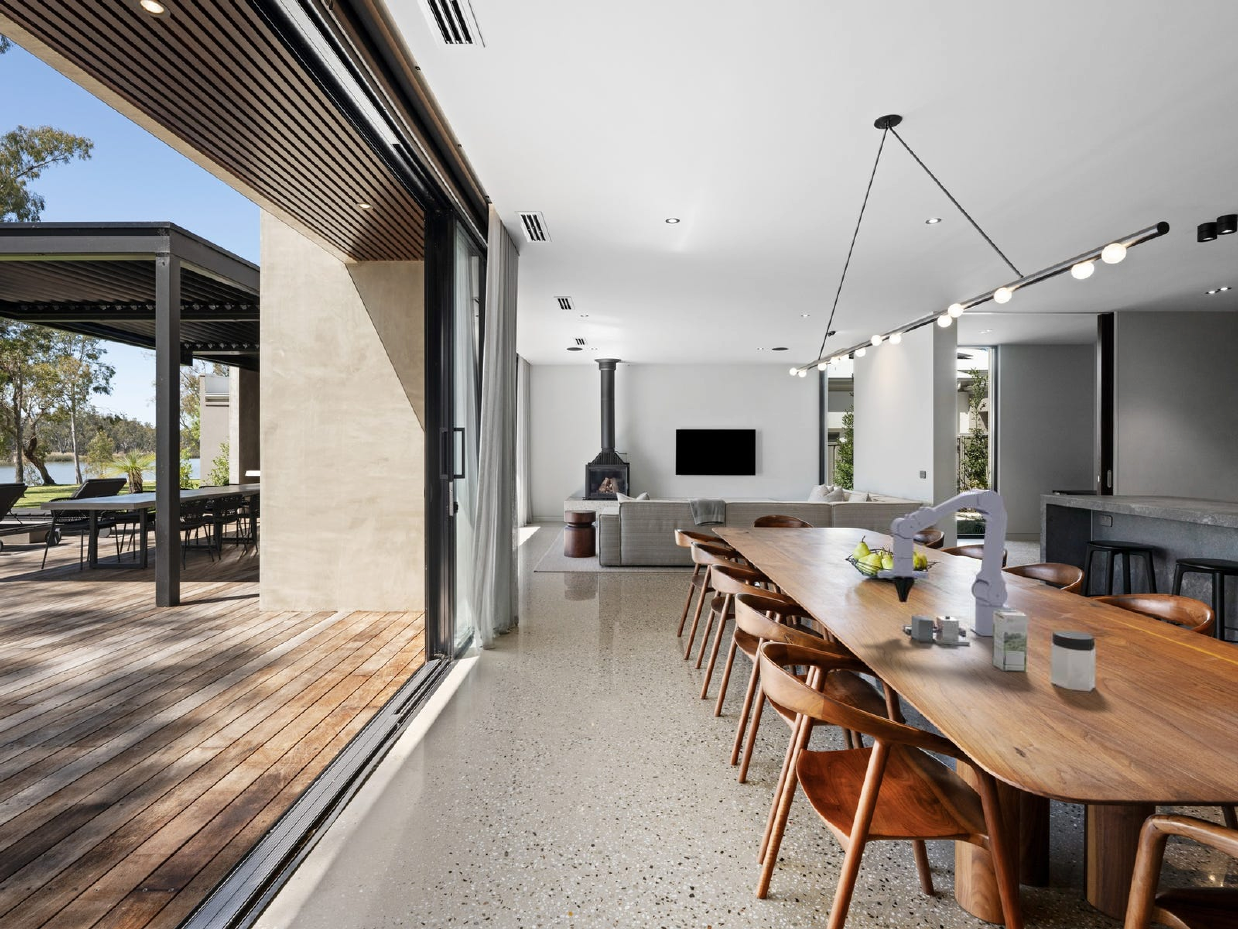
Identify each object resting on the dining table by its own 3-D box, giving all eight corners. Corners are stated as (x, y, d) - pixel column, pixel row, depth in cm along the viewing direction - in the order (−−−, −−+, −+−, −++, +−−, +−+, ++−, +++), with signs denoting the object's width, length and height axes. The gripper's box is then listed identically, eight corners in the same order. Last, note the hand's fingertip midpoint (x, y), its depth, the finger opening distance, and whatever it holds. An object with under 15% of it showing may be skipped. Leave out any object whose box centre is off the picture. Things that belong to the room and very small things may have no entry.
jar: (1056, 689, 150) (1057, 637, 149) (1045, 677, 157) (1045, 628, 157) (1102, 693, 147) (1102, 641, 147) (1088, 681, 155) (1088, 631, 155)
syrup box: (1015, 665, 167) (1015, 609, 167) (1027, 672, 161) (1028, 614, 161) (991, 664, 167) (992, 608, 167) (1003, 671, 161) (1003, 614, 161)
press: (960, 631, 198) (960, 610, 198) (981, 646, 183) (982, 623, 183) (903, 630, 200) (903, 609, 200) (920, 644, 185) (920, 621, 185)
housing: (952, 635, 191) (952, 614, 191) (958, 639, 186) (958, 618, 186) (936, 634, 191) (936, 614, 191) (942, 639, 187) (942, 618, 187)
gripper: (923, 555, 201) (922, 599, 201) (874, 554, 202) (874, 598, 202) (931, 559, 194) (931, 604, 194) (881, 558, 195) (881, 603, 195)
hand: (902, 601), depth 198 cm, fingers closed
